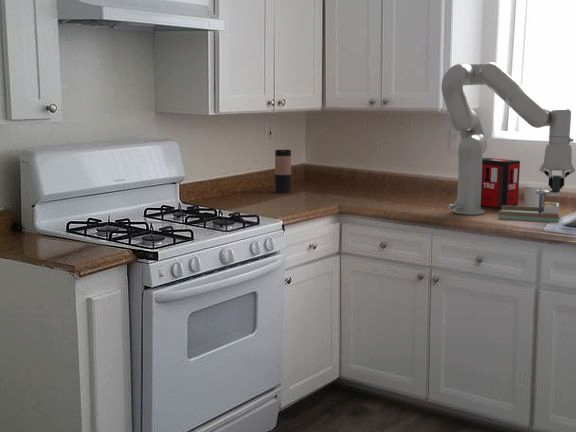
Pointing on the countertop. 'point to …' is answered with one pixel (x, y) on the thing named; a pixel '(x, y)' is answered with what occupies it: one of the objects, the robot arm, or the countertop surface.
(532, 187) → the white cup
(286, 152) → the travel mug
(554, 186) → the kicker rod
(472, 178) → the robot arm
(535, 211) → the pitch
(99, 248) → the countertop surface
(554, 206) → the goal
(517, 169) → the cleaning product box
